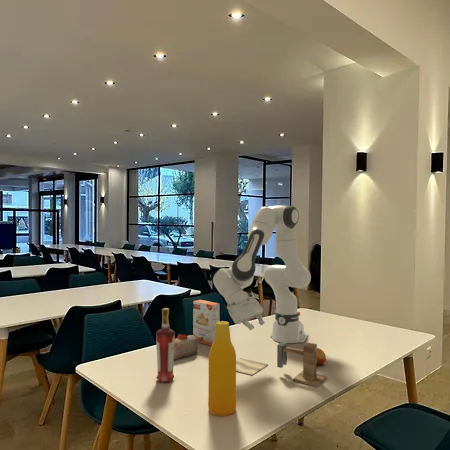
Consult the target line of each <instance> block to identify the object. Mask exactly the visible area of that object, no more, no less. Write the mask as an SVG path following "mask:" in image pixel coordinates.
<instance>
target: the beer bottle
mask: <svg viewBox="0 0 450 450" xmlns="http://www.w3.org/2000/svg"><path fill="white" fill-rule="evenodd" d="M210 347H211V348H210V349H209V352H208V396H207V397H208V398H207V399H208V400H207V401H208V403H207V405H208V411H209V412H210V414H212V415H214V416H217V417H218V416H220V417H227V416H231V415H232V414H234V413H235V411H237V410H236V409H237V372H236V360H237V354H236V349H235V348H234V346H233V343H232V339H231V331H230V322H228V321H224V320H221V321H219V322H216V330H215V339H214V343H213V345H212V346H210Z"/></svg>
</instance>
